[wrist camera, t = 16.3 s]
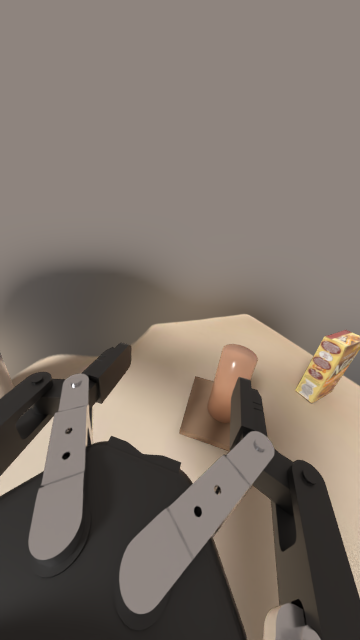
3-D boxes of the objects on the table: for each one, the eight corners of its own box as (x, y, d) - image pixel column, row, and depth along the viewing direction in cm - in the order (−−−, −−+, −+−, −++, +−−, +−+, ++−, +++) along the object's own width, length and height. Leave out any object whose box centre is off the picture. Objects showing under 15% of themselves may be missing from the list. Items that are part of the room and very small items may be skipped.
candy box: (311, 404, 40) (348, 347, 33) (293, 390, 44) (324, 335, 37) (331, 392, 45) (368, 339, 38) (314, 380, 48) (344, 328, 41)
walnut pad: (179, 433, 31) (180, 429, 31) (194, 380, 43) (195, 376, 42) (258, 461, 29) (261, 457, 28) (252, 397, 40) (254, 393, 40)
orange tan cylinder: (205, 417, 33) (221, 359, 28) (209, 394, 38) (223, 341, 32) (236, 427, 32) (259, 369, 27) (236, 402, 37) (255, 349, 31)
